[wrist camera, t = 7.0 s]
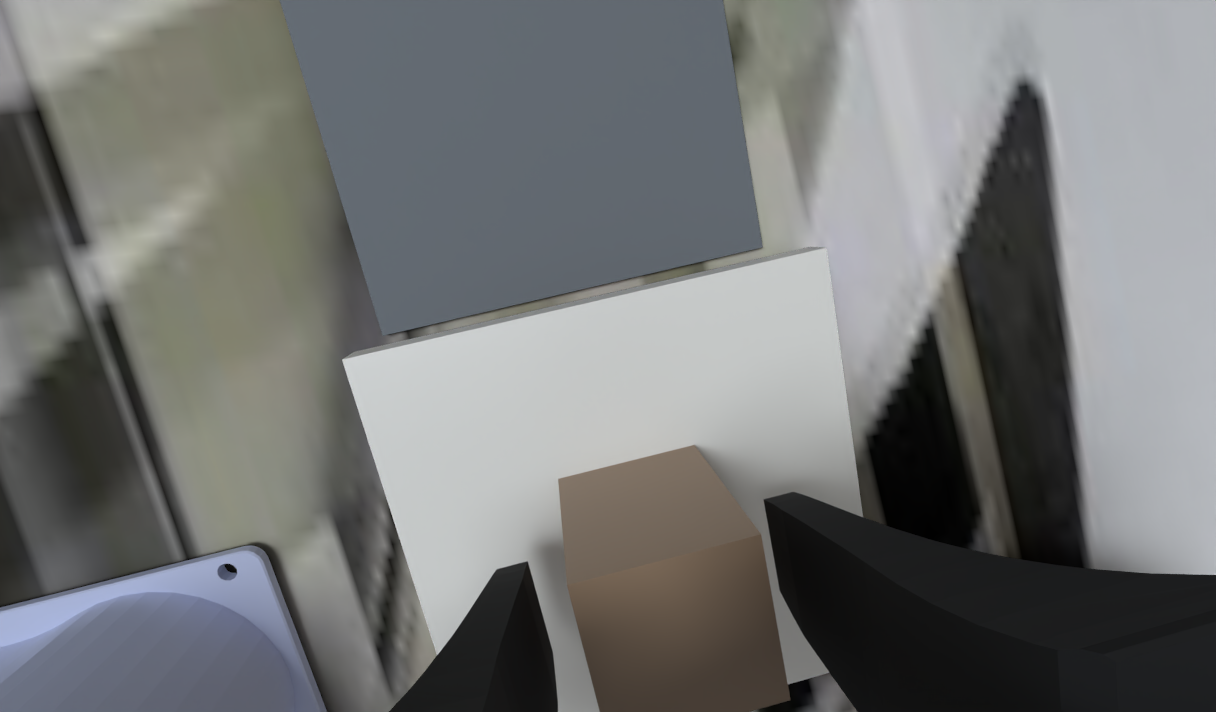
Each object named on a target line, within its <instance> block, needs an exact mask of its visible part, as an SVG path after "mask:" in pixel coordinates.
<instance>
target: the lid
mask: <svg viewBox="0 0 1216 712" xmlns="http://www.w3.org/2000/svg"><path fill="white" fill-rule="evenodd" d="M342 361H343V364H344V367H345V370H346V373H347V377H348V380H349V383H350V386H351V389H352V392H353V395H354V398H355V401H356V405H357V408H358V411H359V414H360V417H361V420H362V423H363V426H364V429H365V433H366V436H367V439H368V442H369V445H370V448H371V451H372V454H373V457H374V461H375V464H376V467H377V470H378V473H379V476H380V479H381V482H382V485H383V489H384V492H385V495H386V498H387V501H388V504H389V507H390V510H391V513H392V517H393V520H394V523H395V526H396V529H397V532H398V535H399V538H400V541H401V545H402V548H403V551H404V554H405V557H406V560H407V563H408V566H409V569H410V573H411V576H412V579H413V582H414V585H415V588H416V591H417V594H418V598H419V601H420V604H421V607H422V610H423V613H424V616H425V619H426V622H427V626H428V629H429V632H430V635H431V638H432V641H433V644H434V647H435V650H436V654H437V655H438V654H439V652H440V651H441V650H442V649H443V647H444V646H445V645H446V643H447V642H448V641H449V639H450V638H451V637H452V635H453V634H454V633H455V631H456V630H457V628H458V627H459V625H460V624H461V622H462V621H463V619H464V618H465V616H466V615H467V614H468V612H469V610H470V609H471V607H472V606H473V604H474V603H475V601H476V600H477V598H478V597H479V595H480V593H481V592H482V590H483V589H484V587H485V586H486V584H487V583H488V581H489V580H490V578H491V577H492V575H493V574H494V572H495V571H496V569H499V568H503V567H507V566H511V565H515V564H518V563H522V562H526V561H528V564H529V568H530V571H531V575H532V578H533V582H534V586H535V589H536V593H537V596H538V600H539V604H540V607H541V611H542V615H543V618H544V622H545V625H546V629H547V633H548V636H549V640H550V643H551V647H552V651H553V657H554V667H555V677H556V687H557V698H558V712H750V711H753V710H757V709H760V708H764V707H768V706H771V705H775V704H778V703H782V702H785V701H789V700H790V694H789V689H788V684H791V683H795V682H798V681H802V680H805V679H809V678H812V677H816V676H820V675H823V674H827V673H830V672H829V671H828V670H827V668H826V667H825V665H824V664H823V662H822V661H821V660H820V658H819V657H818V655H817V654H816V653H815V651H814V650H813V648H812V647H811V645H810V644H809V643H808V641H807V640H806V638H805V637H804V635H803V634H802V632H801V630H800V628H799V626H798V624H797V623H796V621H795V619H794V617H793V615H792V613H791V612H790V610H789V608H788V606H787V604H786V602H785V600H784V598H783V596H782V594H781V592H780V590H779V584H778V579H777V573H776V567H775V562H774V556H773V550H772V545H771V539H770V534H769V528H768V522H767V517H766V511H765V505H764V500H763V499H767V498H771V497H775V496H778V495H782V494H786V493H790V492H796V493H800V494H803V495H806V496H808V497H811V498H814V499H817V500H819V501H822V502H824V503H827V504H830V505H832V506H835V507H837V508H840V509H842V510H845V511H848V512H850V513H853V514H855V515H858V516H861V517H863V512H862V505H861V498H860V490H859V483H858V476H857V468H856V461H855V453H854V446H853V439H852V431H851V424H850V417H849V409H848V402H847V395H846V387H845V380H844V372H843V365H842V358H841V350H840V343H839V336H838V328H837V321H836V313H835V306H834V299H833V291H832V284H831V277H830V269H829V262H828V254H827V248H822V247H807V248H803V249H799V250H794V251H790V252H786V253H781V254H777V255H773V256H768V257H764V258H760V259H755V260H751V261H747V262H742V263H738V264H734V265H729V266H725V267H721V268H716V269H712V270H708V271H703V272H699V273H695V274H690V275H686V276H682V277H677V278H673V279H669V280H664V281H660V282H655V283H651V284H647V285H642V286H638V287H634V288H629V289H625V290H621V291H616V292H612V293H608V294H603V295H599V296H595V297H590V298H586V299H582V300H577V301H573V302H569V303H564V304H560V305H556V306H551V307H547V308H543V309H538V310H534V311H530V312H525V313H521V314H517V315H512V316H508V317H504V318H499V319H495V320H491V321H486V322H482V323H478V324H473V325H469V326H465V327H460V328H456V329H452V330H447V331H443V332H439V333H434V334H430V335H426V336H421V337H417V338H413V339H408V340H404V341H400V342H395V343H391V344H387V345H382V346H378V347H374V348H369V349H365V350H361V351H356V352H353V353H352V354H350V355H349V356H347V357H345V358H344V359H342Z"/></svg>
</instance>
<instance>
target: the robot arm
mask: <svg viewBox="0 0 1216 712" xmlns="http://www.w3.org/2000/svg"><path fill="white" fill-rule="evenodd" d="M763 500H764V505H765V511H766V517H767V522H768V528H769V534H770V539H771V545H772V550H773V556H774V562H775V567H776V573H777V579H778V584H779V590H780V592H781V594H782V596H783V598H784V600H785V602H786V604H787V606H788V608H789V610H790V612H791V613H792V615H793V617H794V619H795V621H796V623H797V624H798V626H799V628H800V630H801V632H802V634H803V635H804V637H805V638H806V640H807V641H808V643H809V644H810V645H811V647H812V648H813V650H814V651H815V653H816V654H817V655H818V657H819V658H820V660H821V661H822V662H823V664H824V665H825V667H826V668H827V670H828V671H829V672H830V674H831V675H832V677H833V678H834V679H835V681H836V682H837V683H838V685H839V686H840V688H841V689H842V690H843V692H844V693H845V695H846V696H847V697H848V699H849V700H850V702H851V703H852V704H853V706H854V707H855V709H856V710H857V711H858V712H1216V575H1186V574H1149V573H1134V572H1122V571H1109V570H1097V569H1086V568H1078V567H1069V566H1060V565H1053V564H1046V563H1040V562H1033V561H1027V560H1020V559H1014V558H1008V557H1003V556H998V555H992V554H987V553H983V552H979V551H974V550H970V549H966V548H961V547H957V546H953V545H948V544H945V543H941V542H937V541H934V540H930V539H927V538H923V537H920V536H917V535H914V534H910V533H907V532H904V531H901V530H898V529H895V528H892V527H889V526H886V525H883V524H880V523H877V522H874V521H872V520H869V519H866V518H863V517H861V516H858V515H855V514H853V513H850V512H848V511H845V510H842V509H840V508H837V507H835V506H832V505H830V504H827V503H824V502H822V501H819V500H817V499H814V498H811V497H808V496H806V495H803V494H800V493H796V492H790V493H786V494H782V495H778V496H775V497H771V498H767V499H763ZM225 564H231V565H233V566H234V567H235V568H236V569H237V573H231V572H229V571H227V569H226V568H225ZM0 712H327V710H326V708H325V705H324V702H323V700H322V697H321V695H320V692H319V689H318V687H317V684H316V681H315V679H314V676H313V674H312V671H311V668H310V666H309V663H308V660H307V658H306V655H305V653H304V650H303V647H302V645H301V642H300V639H299V637H298V634H297V632H296V629H295V626H294V624H293V621H292V618H291V616H290V613H289V611H288V608H287V605H286V603H285V600H284V597H283V595H282V592H281V589H280V587H279V584H278V582H277V579H276V576H275V574H274V571H273V568H272V566H271V563H270V561H269V558H268V556H267V554H266V553H265V551H263V550H262V549H261V548H259V547H256V546H252V545H251V546H242V547H239V548H235V549H231V550H227V551H223V552H219V553H215V554H211V555H207V556H203V557H199V558H195V559H191V560H187V561H183V562H179V563H175V564H171V565H167V566H163V567H159V568H155V569H151V570H147V571H143V572H139V573H135V574H131V575H127V576H123V577H119V578H116V579H112V580H108V581H104V582H100V583H96V584H92V585H88V586H84V587H80V588H76V589H72V590H68V591H64V592H60V593H56V594H52V595H48V596H44V597H40V598H36V599H32V600H28V601H24V602H20V603H16V604H12V605H8V606H4V607H0ZM389 712H558V698H557V687H556V677H555V667H554V657H553V651H552V647H551V643H550V640H549V636H548V633H547V629H546V625H545V622H544V618H543V615H542V611H541V607H540V604H539V600H538V596H537V593H536V589H535V586H534V582H533V578H532V575H531V571H530V568H529V564H528V561H526V562H522V563H518V564H515V565H511V566H507V567H503V568H499V569H496V571H495V572H494V574H493V575H492V577H491V578H490V580H489V581H488V583H487V584H486V586H485V587H484V589H483V590H482V592H481V593H480V595H479V597H478V598H477V600H476V601H475V603H474V604H473V606H472V607H471V609H470V610H469V612H468V614H467V615H466V616H465V618H464V619H463V621H462V622H461V624H460V625H459V627H458V628H457V630H456V631H455V633H454V634H453V635H452V637H451V638H450V639H449V641H448V642H447V643H446V645H445V646H444V647H443V649H442V650H441V651H440V652H439V654H438V655H437V656H436V658H435V659H434V660H433V662H432V663H431V664H430V666H429V667H428V668H427V669H426V671H425V672H424V673H423V674H422V676H421V677H420V678H419V679H418V680H417V682H416V683H415V684H414V685H413V686H412V687H411V688H410V690H409V691H408V692H407V693H406V694H405V695H404V696H403V697H402V698H401V700H400V701H399V702H398V703H397V704H396V705H395V706H394V707H393V708H392V709H391V710H390V711H389Z"/></svg>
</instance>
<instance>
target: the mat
mask: <svg viewBox="0 0 1216 712" xmlns="http://www.w3.org/2000/svg"><path fill="white" fill-rule="evenodd" d="M280 3H281V6H282V9H283V12H284V16H285V19H286V22H287V25H288V29H289V32H290V35H291V38H292V42H293V45H294V48H295V51H296V55H297V58H298V61H299V65H300V68H301V71H302V74H303V78H304V81H305V84H306V87H307V91H308V94H309V97H310V100H311V104H312V107H313V110H314V113H315V117H316V120H317V123H318V126H319V130H320V133H321V136H322V139H323V143H324V146H325V149H326V152H327V156H328V159H329V162H330V165H331V169H332V172H333V175H334V178H335V182H336V185H337V188H338V191H339V195H340V198H341V201H342V205H343V208H344V211H345V214H346V218H347V221H348V224H349V227H350V231H351V234H352V237H353V240H354V244H355V247H356V250H357V253H358V257H359V260H360V263H361V266H362V270H363V273H364V276H365V279H366V283H367V286H368V289H369V292H370V296H371V299H372V302H373V305H374V309H375V312H376V315H377V318H378V322H379V325H380V328H381V332H382V335H383V336H384V335H388V334H393V333H397V332H401V331H405V330H410V329H414V328H418V327H423V326H427V325H431V324H436V323H440V322H444V321H448V320H453V319H457V318H461V317H466V316H470V315H474V314H478V313H483V312H487V311H491V310H496V309H500V308H504V307H509V306H513V305H517V304H521V303H526V302H530V301H534V300H539V299H543V298H547V297H551V296H556V295H560V294H564V293H569V292H573V291H577V290H582V289H586V288H590V287H594V286H599V285H603V284H607V283H612V282H616V281H620V280H624V279H629V278H633V277H637V276H642V275H646V274H650V273H655V272H659V271H663V270H667V269H672V268H676V267H680V266H685V265H689V264H693V263H697V262H702V261H706V260H710V259H715V258H719V257H723V256H728V255H732V254H736V253H740V252H745V251H749V250H753V249H758V248H762V247H763V246H762V240H761V234H760V228H759V222H758V216H757V209H756V203H755V197H754V191H753V185H752V178H751V172H750V166H749V160H748V154H747V148H746V141H745V135H744V129H743V123H742V117H741V110H740V104H739V98H738V92H737V86H736V80H735V73H734V67H733V61H732V55H731V49H730V42H729V36H728V30H727V24H726V18H725V12H724V5H723V0H280Z"/></svg>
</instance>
